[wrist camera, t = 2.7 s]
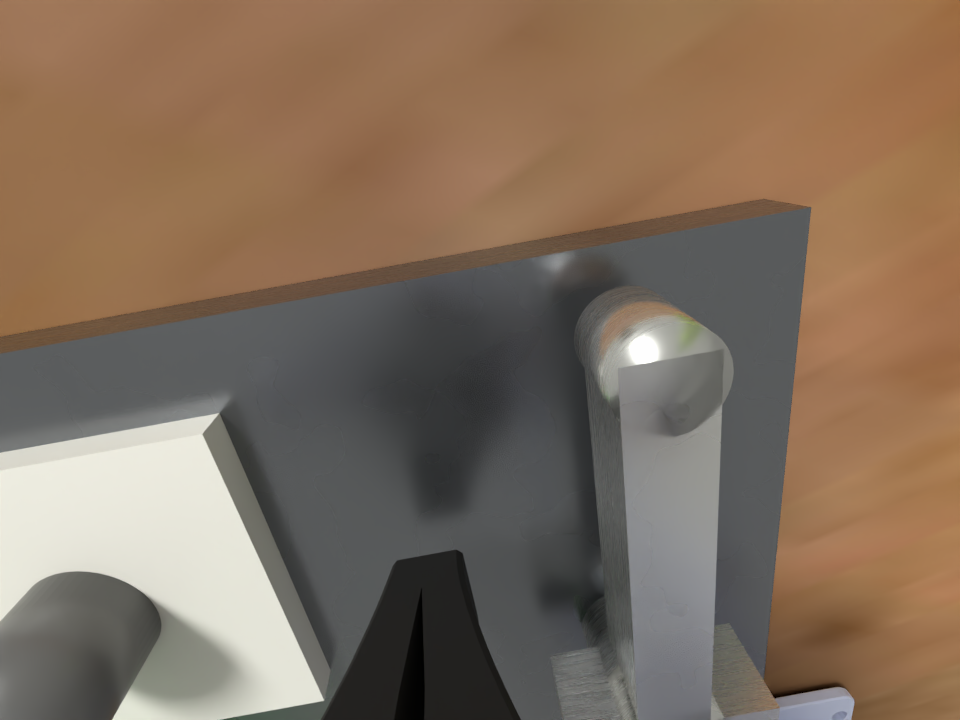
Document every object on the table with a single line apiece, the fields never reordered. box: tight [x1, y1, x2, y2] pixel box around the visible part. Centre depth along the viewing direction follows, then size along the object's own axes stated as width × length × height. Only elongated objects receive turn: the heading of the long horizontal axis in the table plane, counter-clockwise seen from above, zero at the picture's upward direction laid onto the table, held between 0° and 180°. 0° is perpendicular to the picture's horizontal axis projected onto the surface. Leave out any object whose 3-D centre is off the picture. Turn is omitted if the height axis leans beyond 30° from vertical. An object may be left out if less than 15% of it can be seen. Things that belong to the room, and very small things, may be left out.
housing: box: [0, 199, 811, 720], centre depth 13 cm, size 14×21×2 cm, turn 99°
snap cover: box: [0, 413, 331, 720], centre depth 10 cm, size 8×8×4 cm
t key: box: [550, 285, 780, 720], centre depth 10 cm, size 11×4×3 cm, turn 9°
